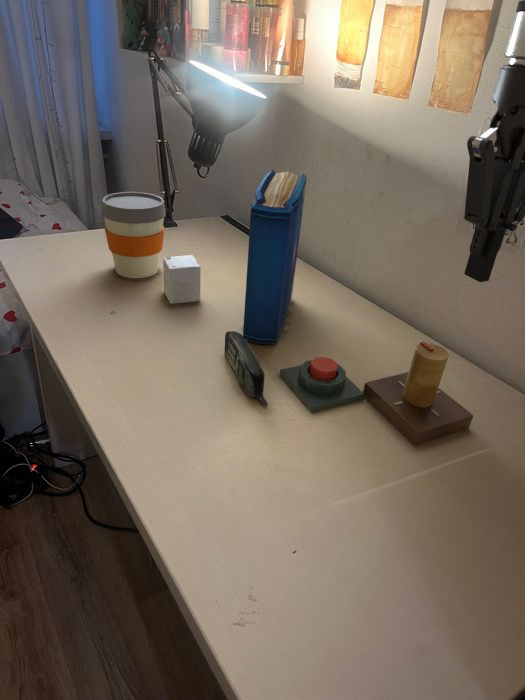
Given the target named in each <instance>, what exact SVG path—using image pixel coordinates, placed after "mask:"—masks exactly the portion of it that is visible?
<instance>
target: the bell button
mask: <svg viewBox="0 0 525 700" xmlns="http://www.w3.org/2000/svg"><path fill="white" fill-rule="evenodd" d="M311 360H312V361H311V365H310V375H311V376H312V377H314V378H316V379H318V380H325V381H329V380H333V379H334V378H335V377H336V373H337V368H338V366H337V364H338V363H337V362H336V361H335V360H334V359H332V358H330V357H326V356H318V357H314V358H313V359H311Z"/></svg>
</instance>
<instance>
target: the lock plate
mask: <svg viewBox="0 0 525 700" xmlns="http://www.w3.org/2000/svg"><path fill="white" fill-rule="evenodd" d="M408 373H409V371H407V372H403V373H398V374H395V375H390V376H386V377H382V378H378V379H374V380H370V381H365V382H364V385H363V390H362V392H363V393H364V398H363V399H365V400H366V401H367V402H368V403H369V404H370V405H371V406H372V407H373V408H374V409H375V410H376V411H377V412H378V413H379V414H380V415H382V416H383V417H384V419H386V420H387V421H388V422H389V423H390V424H391V425H392V426H393V427H394V428H395V429H396V430H397V431H398V432H399V433H400V434H401V435H402V436H403V437H404V438H405V439H406V440H407V441H408V442H410V444H411V445H412V446H413V447H418V446H421V445H424V444H427V443H430V442H433V441H436V440H440V439H442V438H445V437H448V436H452V435H455V434H457V433H461V432H463V431H468V430H469V429H470V426H471V423H472V421H473V418H474V414H472V413H471V412H470V411H469V410H467V408H465V407H463V406H462V405H461V404H460V403H459V402H457V401H456V400H455V399H453V398H452V397H451V396H450V395H449V394H447V393H446V392H445V391H443V390H442V389H441V388H440V387H438V390H437V393H436V396H435V399H434V402H433V404H432V405H431V406H429V407H417V406H413V405H411V404H409V403H408V402H406V401H405V399H404V398H403V390H404V387H405V383H406V380H407V376H408Z"/></svg>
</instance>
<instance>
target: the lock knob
mask: <svg viewBox="0 0 525 700" xmlns="http://www.w3.org/2000/svg"><path fill="white" fill-rule="evenodd" d="M449 357H450V355H449V352H448V351H447V350H446V349H445V348H444V347H442V346H440V345H438V344H435V343H429V342H425V341H419V344H417V345H416V346H415V348H414V352H413V356H412V359H411V363H410V366H409V370H408V372H409V373H408V376H407V380H406V383H405V387H404V390H403V398H404V399H405V401H406V402H408V403H409V404H411V405H413V406H417V407H429V406H431V405H432V404H433V402H434V399H435V396H436V393H437V390H438V388H440V383H441V380H442V377H443V374H444V371H445V368H446V365H447V363H448V359H449Z"/></svg>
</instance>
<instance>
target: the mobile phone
mask: <svg viewBox="0 0 525 700" xmlns="http://www.w3.org/2000/svg"><path fill="white" fill-rule="evenodd" d="M224 336H225V337H224V356H225V357H226V359H227V362H228V363H229V364H230V366H231V368H232V370H233V372H234V373H235V375H236V379H237V380H238V384H239V386H240V388H241V389H242V390H243V392H245V394H247V396H249V397H250V398H258V400H260V402H261V404H262V405H263V406H264V407H267V406H268V404H269V403H268V401H267V400H266V398H265V397H264V387H265V372H264V371H263V367H262V366H261V362H260V361H261V360H260V359H259V358H258V357H257V355H256V352H254V351H253V349H252V348H251V345H250V344H249V341H248V340H246V339H245V338H244V337H243V333H240V332H238V331H234V330H231V331H225V335H224Z"/></svg>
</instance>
